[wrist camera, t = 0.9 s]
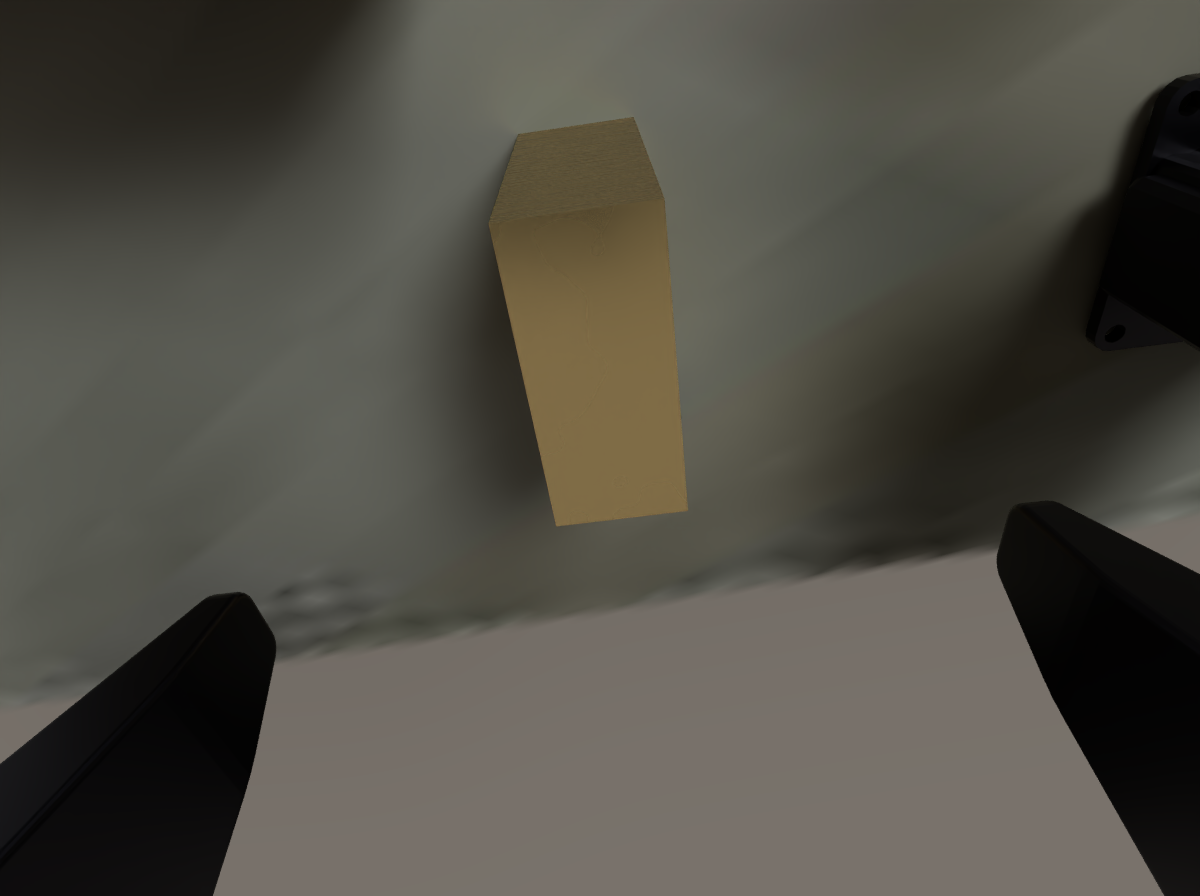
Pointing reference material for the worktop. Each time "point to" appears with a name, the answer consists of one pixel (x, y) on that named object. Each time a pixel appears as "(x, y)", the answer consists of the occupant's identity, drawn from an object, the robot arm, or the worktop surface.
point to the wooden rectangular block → (593, 319)
